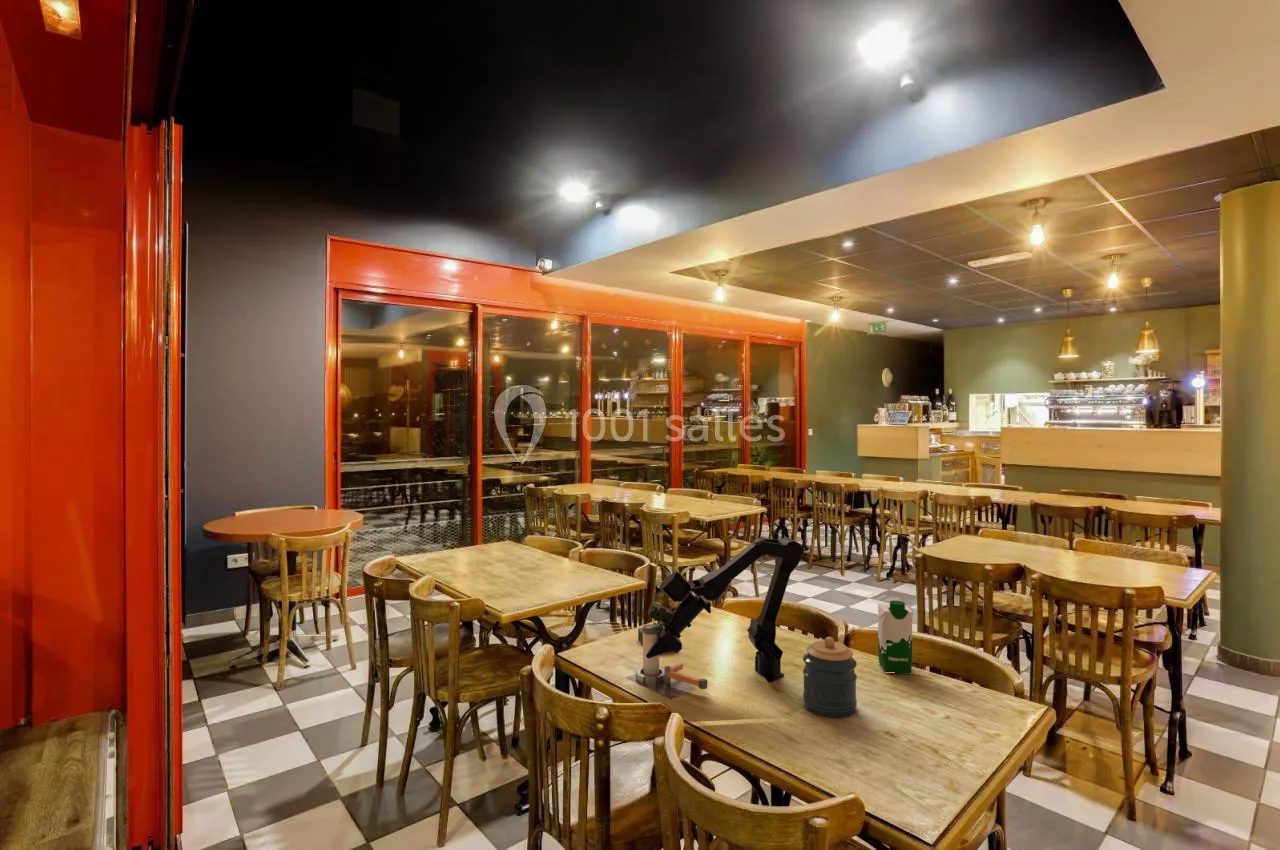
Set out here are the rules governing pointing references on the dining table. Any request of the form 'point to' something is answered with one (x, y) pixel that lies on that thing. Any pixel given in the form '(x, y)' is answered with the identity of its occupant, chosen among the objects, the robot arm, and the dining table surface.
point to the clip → (682, 676)
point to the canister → (829, 679)
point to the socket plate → (661, 683)
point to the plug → (648, 641)
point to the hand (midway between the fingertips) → (646, 653)
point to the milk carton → (895, 637)
